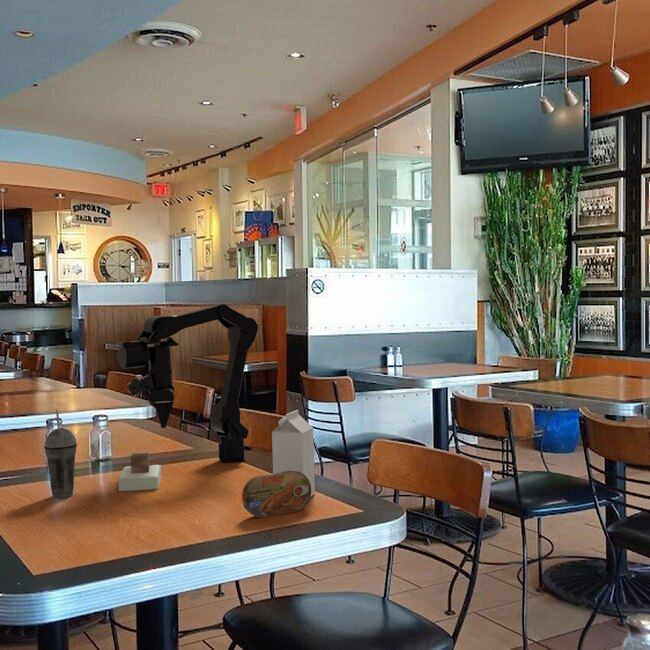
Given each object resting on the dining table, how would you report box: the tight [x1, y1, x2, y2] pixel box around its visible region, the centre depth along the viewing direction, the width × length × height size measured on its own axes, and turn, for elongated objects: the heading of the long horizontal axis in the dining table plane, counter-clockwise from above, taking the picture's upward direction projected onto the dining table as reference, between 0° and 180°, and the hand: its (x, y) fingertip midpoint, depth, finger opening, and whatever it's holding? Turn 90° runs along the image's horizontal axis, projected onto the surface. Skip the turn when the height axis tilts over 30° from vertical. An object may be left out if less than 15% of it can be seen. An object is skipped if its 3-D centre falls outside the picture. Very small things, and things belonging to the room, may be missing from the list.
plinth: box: [117, 464, 162, 492], centre depth 196 cm, size 9×14×3 cm, turn 9°
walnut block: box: [130, 452, 150, 473], centre depth 196 cm, size 4×4×4 cm
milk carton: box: [271, 409, 316, 498], centre depth 178 cm, size 7×7×19 cm
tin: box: [241, 471, 312, 519], centre depth 166 cm, size 15×3×8 cm, turn 120°
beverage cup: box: [43, 409, 78, 499], centre depth 185 cm, size 7×7×20 cm
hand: (163, 424), depth 209 cm, fingers open, 9 cm apart
